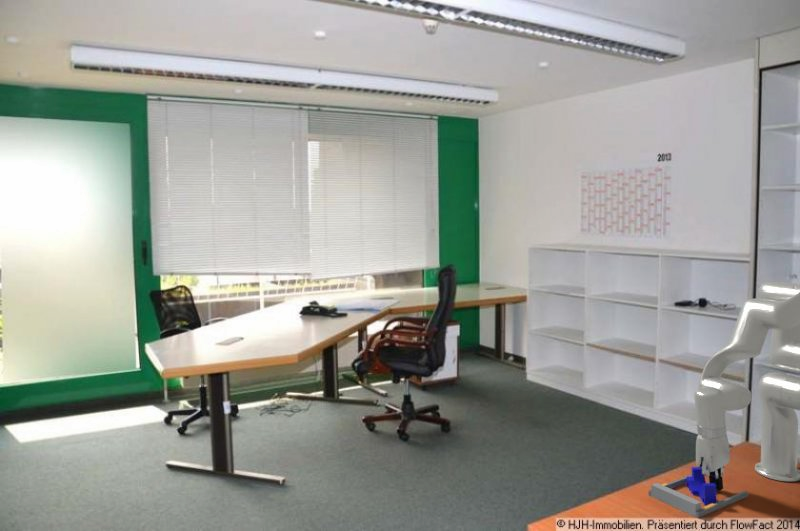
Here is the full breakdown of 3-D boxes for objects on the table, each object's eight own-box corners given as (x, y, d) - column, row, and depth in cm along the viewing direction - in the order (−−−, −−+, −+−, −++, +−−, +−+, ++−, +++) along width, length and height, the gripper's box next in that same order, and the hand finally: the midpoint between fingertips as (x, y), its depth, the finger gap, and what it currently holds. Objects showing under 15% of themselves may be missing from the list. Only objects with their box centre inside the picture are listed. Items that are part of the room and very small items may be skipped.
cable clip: (686, 486, 180) (686, 467, 180) (702, 486, 180) (702, 467, 179) (699, 505, 169) (698, 485, 168) (716, 506, 168) (716, 485, 167)
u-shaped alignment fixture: (698, 476, 186) (698, 465, 186) (748, 496, 172) (748, 484, 172) (648, 495, 175) (648, 483, 175) (698, 518, 161) (698, 505, 161)
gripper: (714, 418, 181) (719, 474, 183) (683, 434, 174) (689, 493, 176) (739, 425, 174) (743, 483, 177) (708, 442, 167) (713, 503, 170)
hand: (716, 488), depth 177 cm, fingers closed
